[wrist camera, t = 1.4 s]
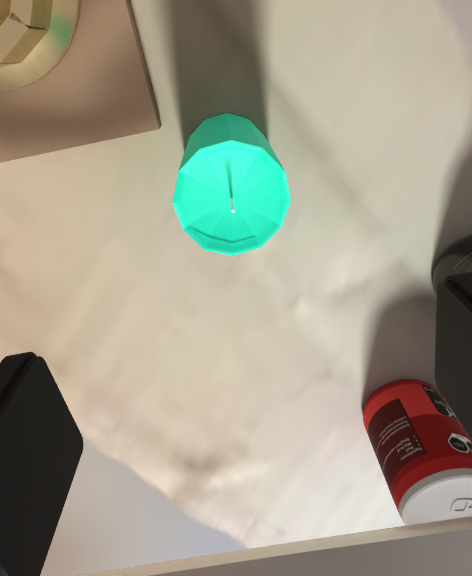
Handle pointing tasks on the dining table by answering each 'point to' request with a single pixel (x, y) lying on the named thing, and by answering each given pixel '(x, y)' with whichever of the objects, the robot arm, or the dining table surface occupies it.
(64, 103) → the walnut board
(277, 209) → the candle
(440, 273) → the supplement bottle
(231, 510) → the dining table surface
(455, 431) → the canned food
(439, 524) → the robot arm
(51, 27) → the candle holder
